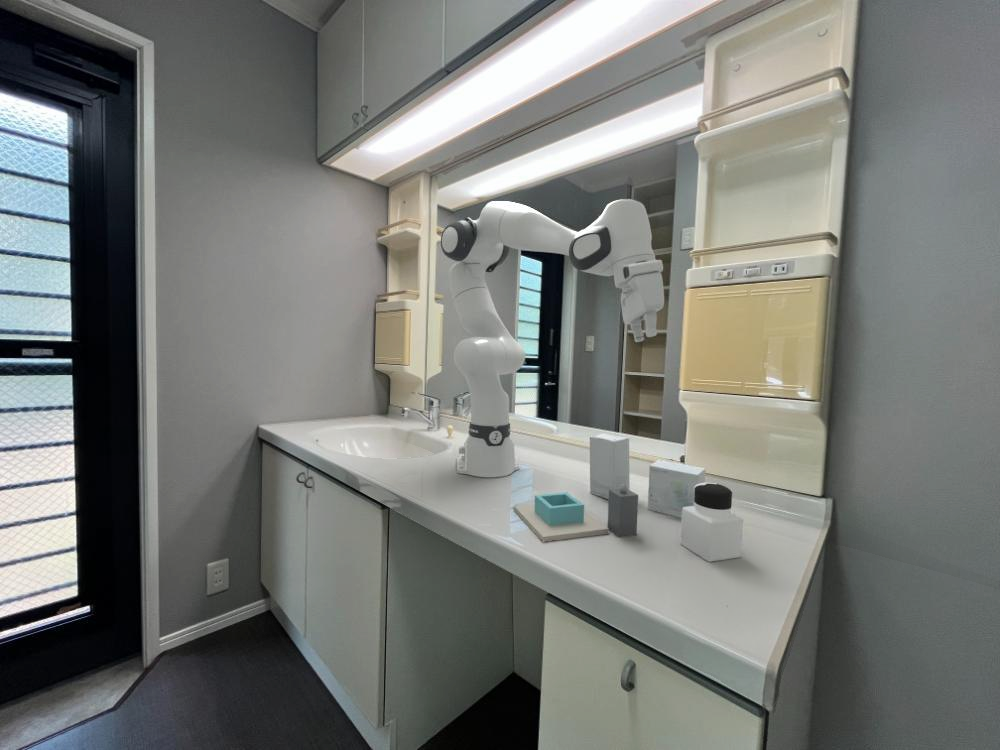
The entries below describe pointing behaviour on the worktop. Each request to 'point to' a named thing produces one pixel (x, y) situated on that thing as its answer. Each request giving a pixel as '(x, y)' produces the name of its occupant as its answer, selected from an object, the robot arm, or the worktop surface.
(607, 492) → the skincare box
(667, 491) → the skincare box
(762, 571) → the worktop surface
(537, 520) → the plate
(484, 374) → the robot arm
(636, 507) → the block
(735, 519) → the medicine bottle
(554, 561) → the worktop surface
